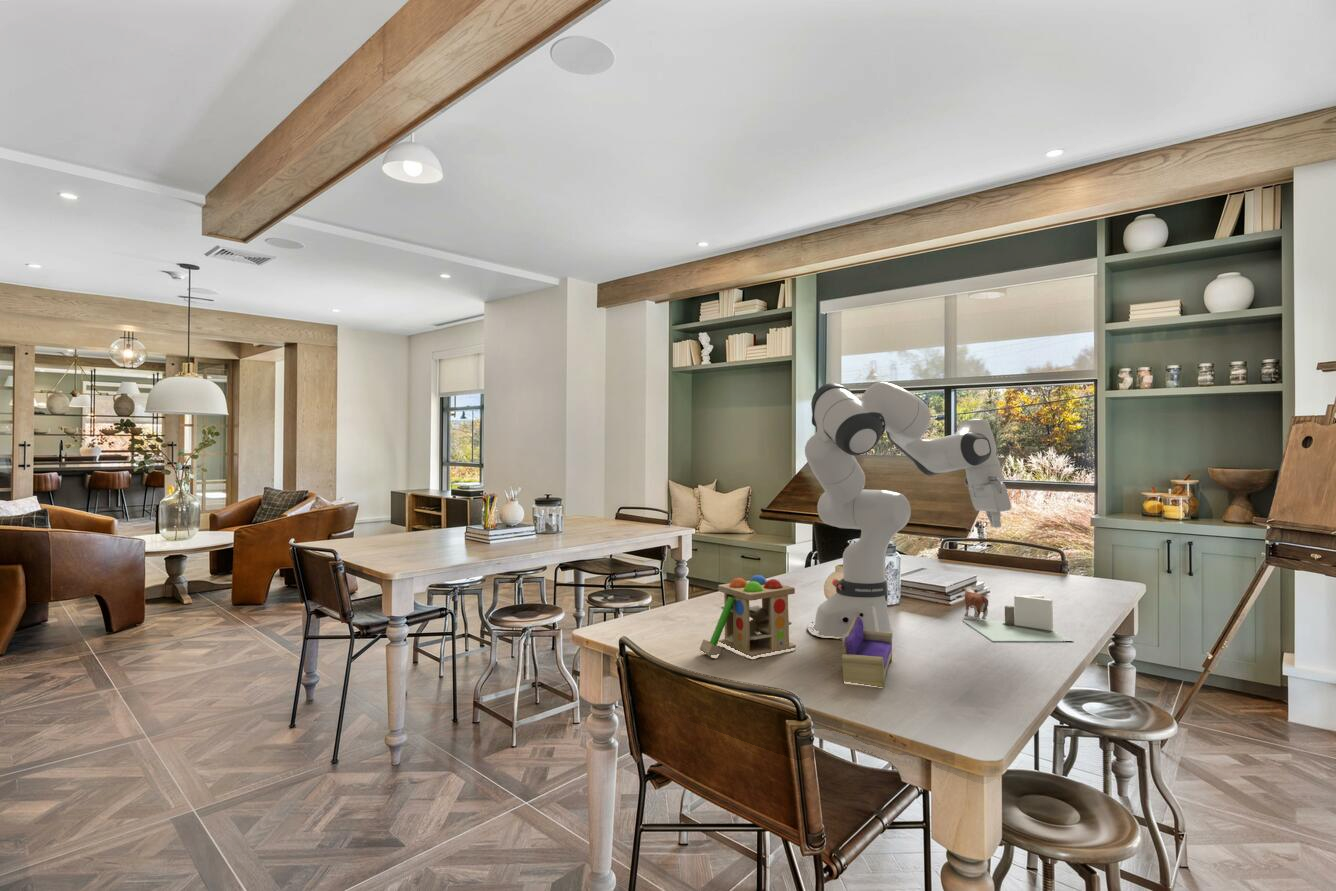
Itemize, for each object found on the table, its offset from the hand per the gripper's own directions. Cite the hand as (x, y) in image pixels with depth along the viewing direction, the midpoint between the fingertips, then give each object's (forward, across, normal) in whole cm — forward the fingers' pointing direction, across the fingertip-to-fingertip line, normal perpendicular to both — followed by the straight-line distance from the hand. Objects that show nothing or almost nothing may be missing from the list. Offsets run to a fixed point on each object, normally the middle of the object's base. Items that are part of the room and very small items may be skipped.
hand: (996, 527), depth 179 cm
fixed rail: (+28, +8, -4) cm, 30 cm away
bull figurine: (+26, +16, +7) cm, 31 cm away
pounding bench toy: (+18, -22, +72) cm, 78 cm away
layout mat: (+28, +2, +1) cm, 28 cm away
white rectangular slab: (+28, +4, -5) cm, 29 cm away
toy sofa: (+24, -35, +44) cm, 61 cm away
